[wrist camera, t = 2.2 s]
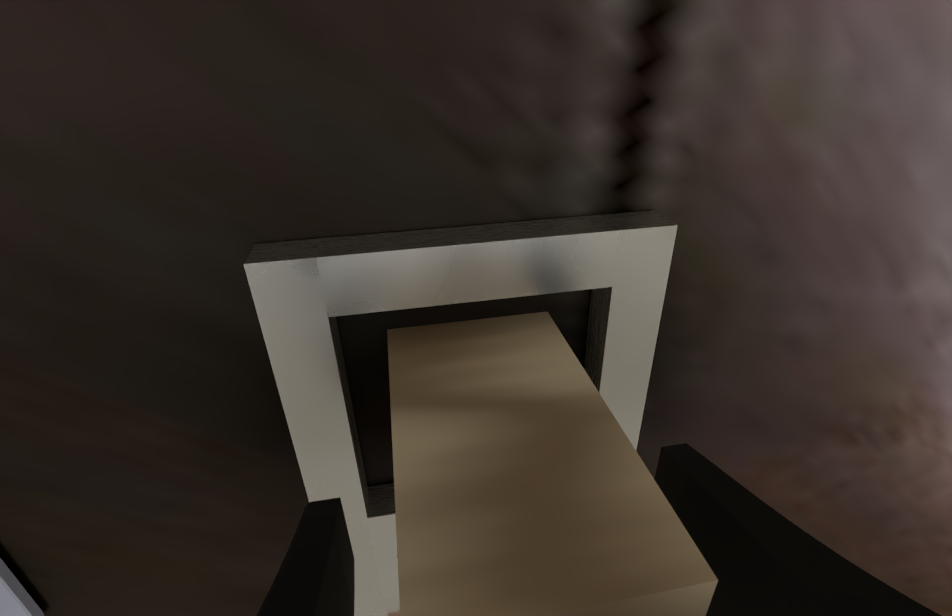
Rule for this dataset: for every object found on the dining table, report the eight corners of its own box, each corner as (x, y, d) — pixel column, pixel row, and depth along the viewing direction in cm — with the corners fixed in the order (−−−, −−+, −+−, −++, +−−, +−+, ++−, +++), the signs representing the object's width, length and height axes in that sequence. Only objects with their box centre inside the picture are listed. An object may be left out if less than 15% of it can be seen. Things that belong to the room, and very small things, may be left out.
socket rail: (378, 721, 23) (378, 762, 22) (255, 243, 11) (239, 269, 10) (580, 675, 25) (592, 711, 23) (653, 210, 13) (684, 229, 12)
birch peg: (402, 451, 15) (426, 785, 9) (386, 329, 13) (401, 645, 6) (540, 430, 16) (666, 725, 9) (547, 311, 14) (718, 580, 7)
